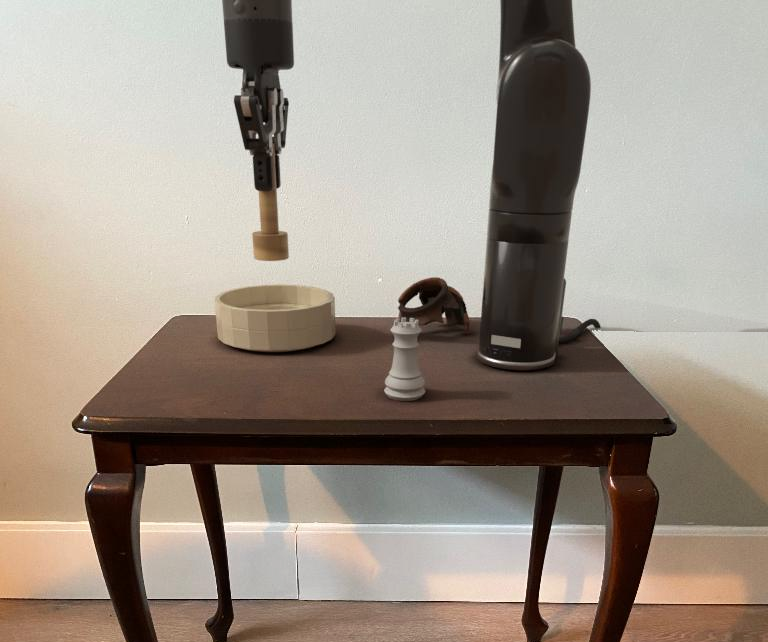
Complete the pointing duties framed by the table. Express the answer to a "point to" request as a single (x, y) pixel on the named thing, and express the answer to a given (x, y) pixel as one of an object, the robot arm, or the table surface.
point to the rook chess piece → (405, 363)
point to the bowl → (275, 317)
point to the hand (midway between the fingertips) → (268, 188)
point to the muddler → (270, 227)
